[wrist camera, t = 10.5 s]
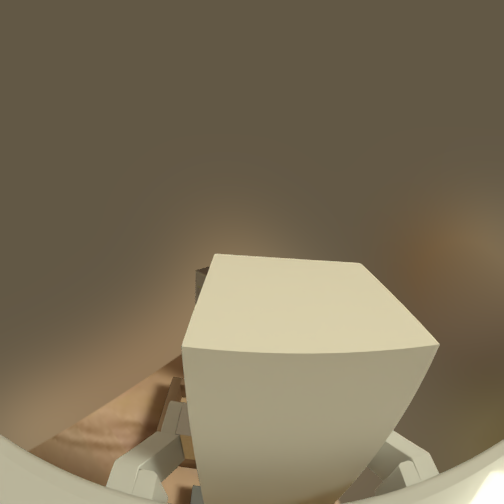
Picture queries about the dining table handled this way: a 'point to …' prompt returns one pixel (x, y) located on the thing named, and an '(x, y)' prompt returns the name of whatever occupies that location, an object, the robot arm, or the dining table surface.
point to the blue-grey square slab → (196, 495)
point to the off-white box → (295, 377)
